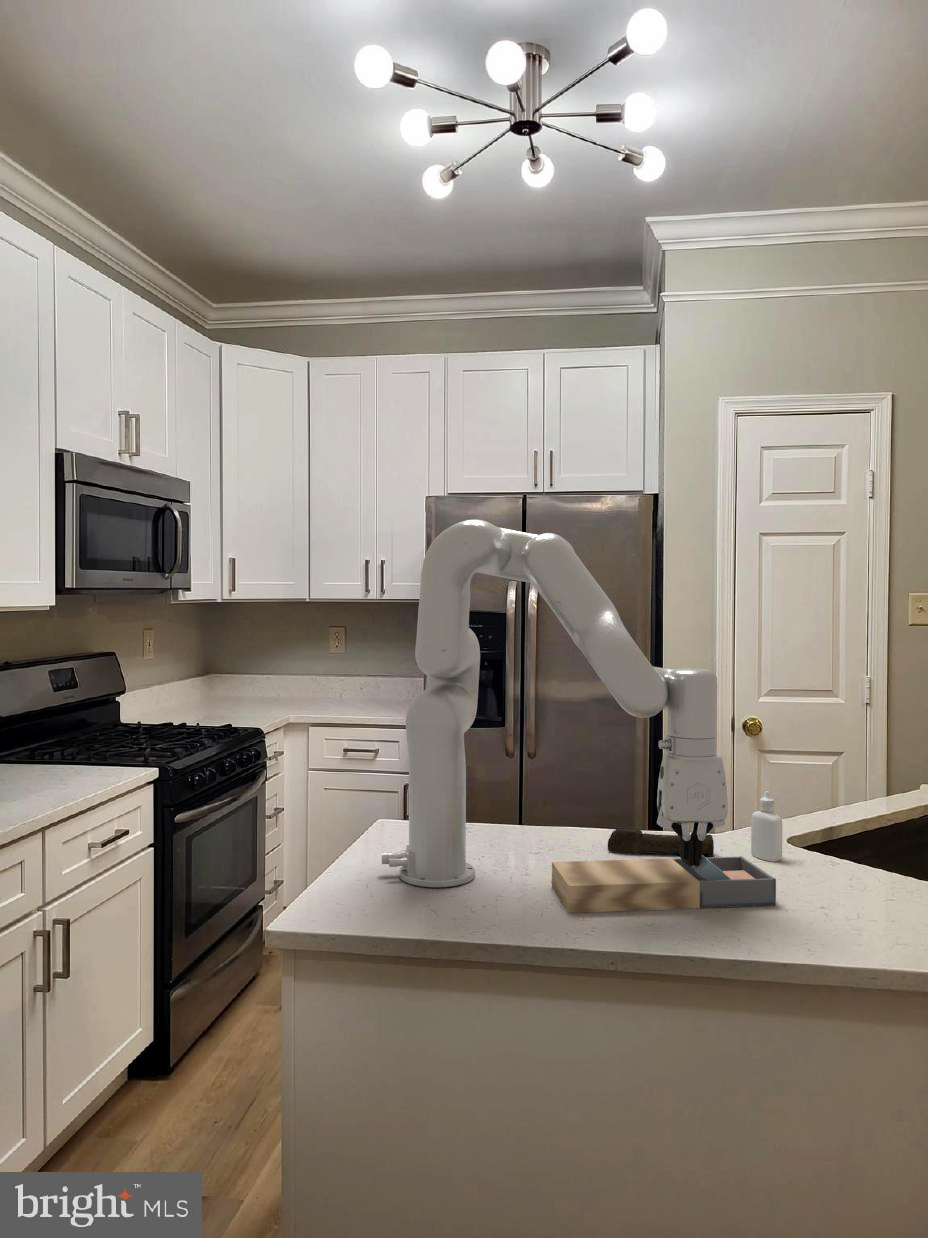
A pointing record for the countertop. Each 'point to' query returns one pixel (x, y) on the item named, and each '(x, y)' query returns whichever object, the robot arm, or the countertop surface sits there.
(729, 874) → the terracotta tile
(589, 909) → the oak board
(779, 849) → the eye dropper bottle
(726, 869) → the tray
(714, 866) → the pale blue tile
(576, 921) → the countertop surface
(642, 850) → the hand tool
